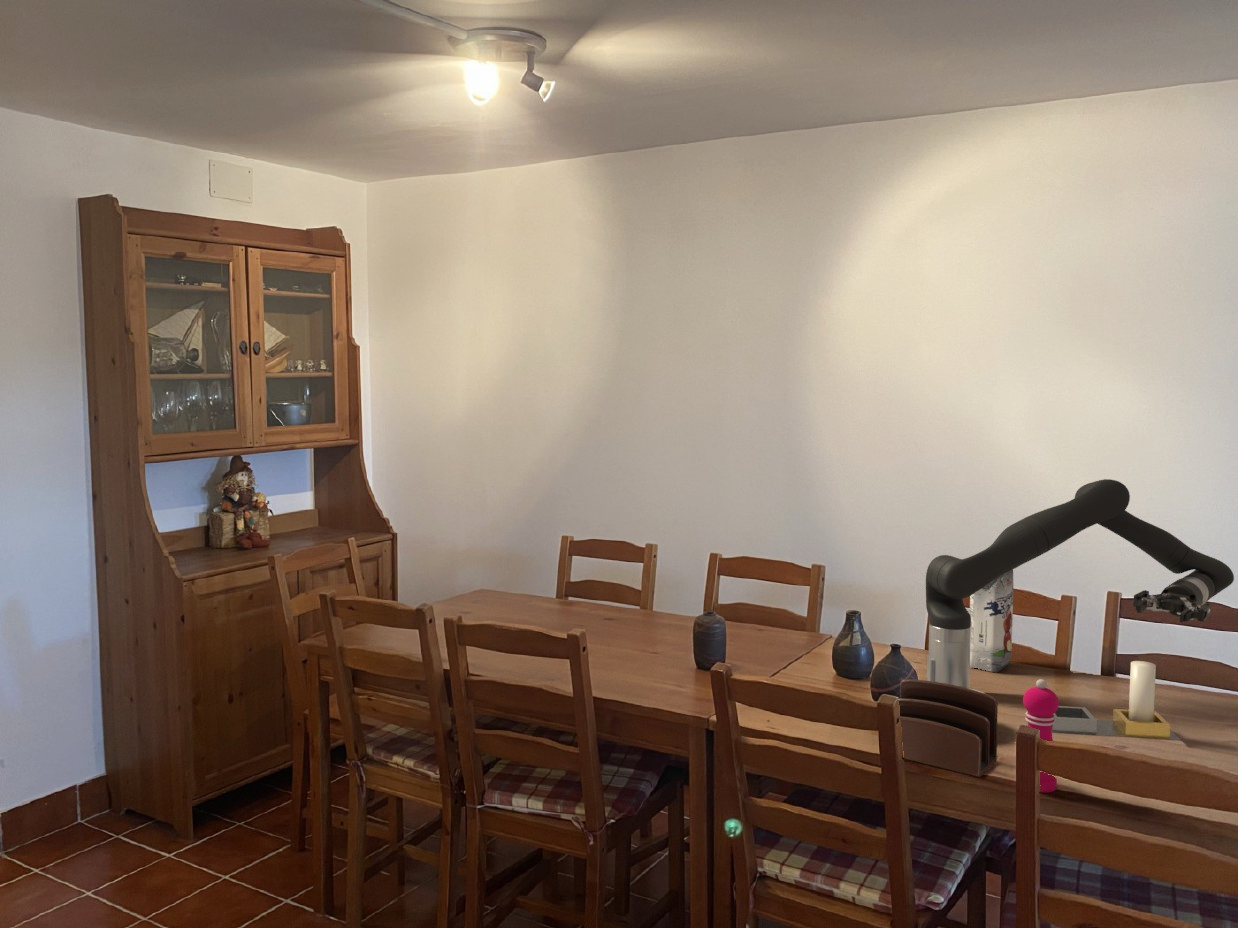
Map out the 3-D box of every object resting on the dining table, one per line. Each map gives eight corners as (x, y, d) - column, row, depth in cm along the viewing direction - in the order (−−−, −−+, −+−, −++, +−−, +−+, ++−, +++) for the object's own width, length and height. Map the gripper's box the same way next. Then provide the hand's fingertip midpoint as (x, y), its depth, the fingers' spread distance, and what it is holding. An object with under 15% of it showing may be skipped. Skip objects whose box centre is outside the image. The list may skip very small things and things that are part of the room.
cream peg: (1132, 732, 204) (1134, 666, 202) (1125, 724, 208) (1127, 660, 207) (1156, 733, 203) (1159, 667, 202) (1148, 726, 207) (1151, 661, 206)
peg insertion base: (1044, 737, 204) (1045, 718, 204) (1033, 721, 214) (1034, 703, 214) (1180, 745, 199) (1181, 726, 199) (1162, 728, 209) (1163, 710, 209)
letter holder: (900, 739, 204) (901, 673, 203) (997, 762, 191) (999, 692, 190) (880, 754, 196) (881, 685, 195) (980, 779, 184) (982, 705, 182)
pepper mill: (1009, 778, 183) (1012, 674, 182) (1046, 777, 184) (1050, 672, 182) (1028, 794, 176) (1032, 686, 175) (1067, 793, 177) (1071, 684, 175)
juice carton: (964, 668, 253) (967, 565, 251) (979, 659, 261) (982, 559, 259) (999, 674, 248) (1002, 569, 245) (1014, 665, 256) (1017, 563, 253)
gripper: (1152, 573, 226) (1126, 589, 215) (1222, 587, 216) (1198, 604, 205) (1149, 604, 228) (1123, 621, 217) (1218, 619, 217) (1195, 638, 207)
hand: (1160, 613), depth 211 cm, fingers open, 8 cm apart
